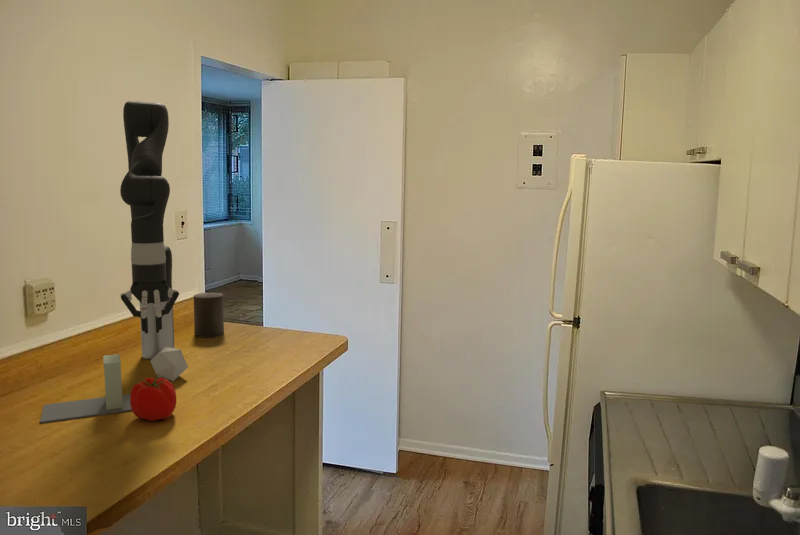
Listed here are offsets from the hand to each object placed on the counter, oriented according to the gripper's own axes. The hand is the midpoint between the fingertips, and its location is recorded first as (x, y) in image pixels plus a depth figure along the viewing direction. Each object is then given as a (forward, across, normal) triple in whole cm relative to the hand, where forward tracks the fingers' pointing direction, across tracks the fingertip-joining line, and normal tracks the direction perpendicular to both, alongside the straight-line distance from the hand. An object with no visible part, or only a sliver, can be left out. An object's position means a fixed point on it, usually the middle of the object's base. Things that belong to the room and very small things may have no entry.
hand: (151, 332), depth 150 cm
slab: (+17, +9, 0) cm, 19 cm away
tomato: (+17, +1, +12) cm, 21 cm away
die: (+17, -5, -16) cm, 24 cm away
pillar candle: (+17, -22, -58) cm, 65 cm away
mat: (+17, +14, 0) cm, 22 cm away
